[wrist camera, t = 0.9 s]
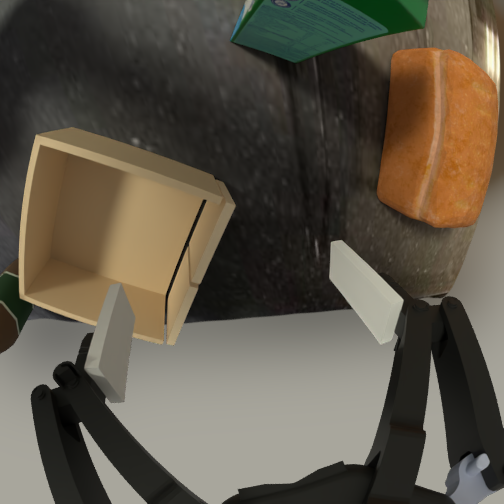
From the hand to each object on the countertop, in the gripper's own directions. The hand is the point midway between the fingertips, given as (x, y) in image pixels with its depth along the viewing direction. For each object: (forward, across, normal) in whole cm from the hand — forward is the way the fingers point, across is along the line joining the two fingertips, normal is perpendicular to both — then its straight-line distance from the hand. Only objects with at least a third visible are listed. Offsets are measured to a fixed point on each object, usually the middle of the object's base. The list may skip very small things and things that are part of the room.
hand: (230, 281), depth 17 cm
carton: (+21, -13, -2) cm, 25 cm away
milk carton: (+22, +11, +22) cm, 32 cm away
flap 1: (+21, -6, -12) cm, 25 cm away
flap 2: (+21, -1, -3) cm, 21 cm away
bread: (+22, +34, +6) cm, 41 cm away
